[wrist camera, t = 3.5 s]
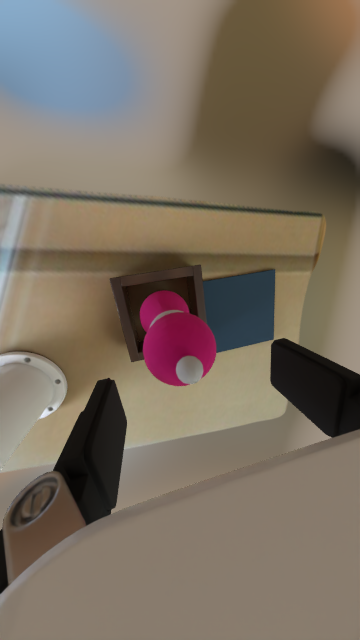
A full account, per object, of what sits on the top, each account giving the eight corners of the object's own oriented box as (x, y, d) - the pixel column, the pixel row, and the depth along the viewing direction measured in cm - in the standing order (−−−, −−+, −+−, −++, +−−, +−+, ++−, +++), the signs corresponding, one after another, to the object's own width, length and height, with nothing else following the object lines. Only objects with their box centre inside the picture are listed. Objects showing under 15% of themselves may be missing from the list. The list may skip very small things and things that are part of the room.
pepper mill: (132, 316, 28) (107, 405, 9) (154, 279, 27) (173, 294, 9) (168, 335, 31) (207, 438, 12) (190, 301, 30) (269, 353, 11)
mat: (208, 353, 33) (209, 354, 33) (201, 281, 29) (202, 281, 29) (271, 338, 35) (273, 339, 35) (273, 269, 31) (275, 269, 31)
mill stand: (133, 349, 30) (131, 362, 26) (115, 277, 26) (109, 278, 22) (200, 335, 32) (209, 344, 28) (192, 265, 28) (201, 264, 24)
